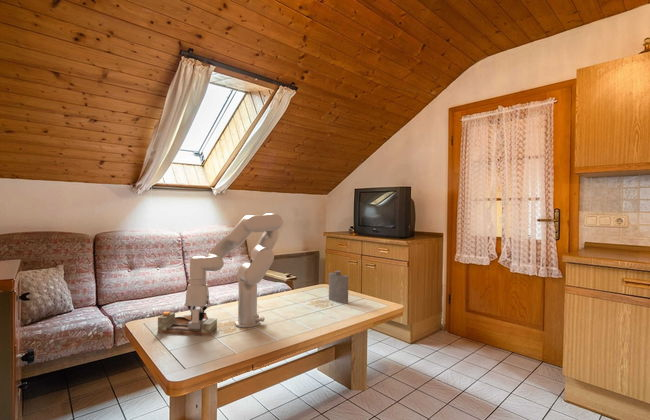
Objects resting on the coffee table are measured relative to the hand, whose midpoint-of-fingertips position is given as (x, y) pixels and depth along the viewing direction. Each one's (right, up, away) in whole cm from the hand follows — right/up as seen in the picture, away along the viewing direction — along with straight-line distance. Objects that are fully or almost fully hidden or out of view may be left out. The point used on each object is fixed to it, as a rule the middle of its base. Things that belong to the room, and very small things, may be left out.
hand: (197, 319), depth 162 cm
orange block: (-16, -2, +2) cm, 16 cm away
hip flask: (+70, -7, +55) cm, 90 cm away
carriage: (0, -3, 0) cm, 3 cm away
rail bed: (-5, -6, +1) cm, 8 cm away
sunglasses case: (-8, -7, +12) cm, 16 cm away
